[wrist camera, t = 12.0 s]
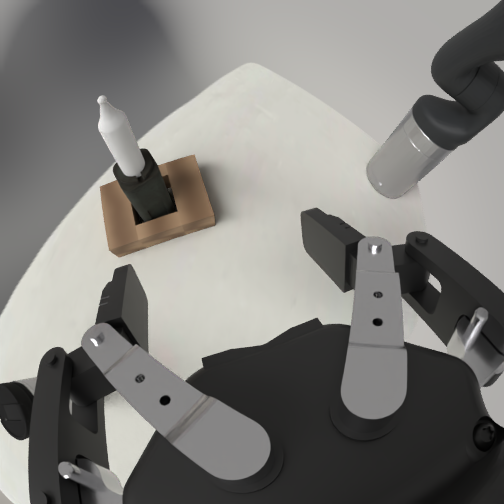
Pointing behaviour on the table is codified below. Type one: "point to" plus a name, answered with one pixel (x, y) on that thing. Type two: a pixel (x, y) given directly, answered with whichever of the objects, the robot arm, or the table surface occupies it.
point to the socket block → (163, 228)
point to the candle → (134, 165)
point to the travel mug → (18, 406)
